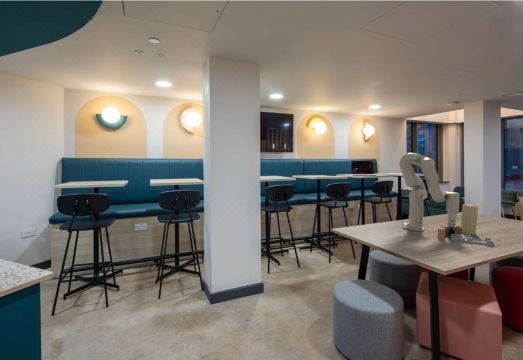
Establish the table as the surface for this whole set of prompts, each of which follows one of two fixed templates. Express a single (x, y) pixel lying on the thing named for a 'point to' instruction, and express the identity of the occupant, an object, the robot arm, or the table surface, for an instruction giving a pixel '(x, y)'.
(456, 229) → the brown tabbed block
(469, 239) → the jig
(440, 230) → the brown rectangular brick
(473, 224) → the toy refrigerator
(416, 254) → the table surface
